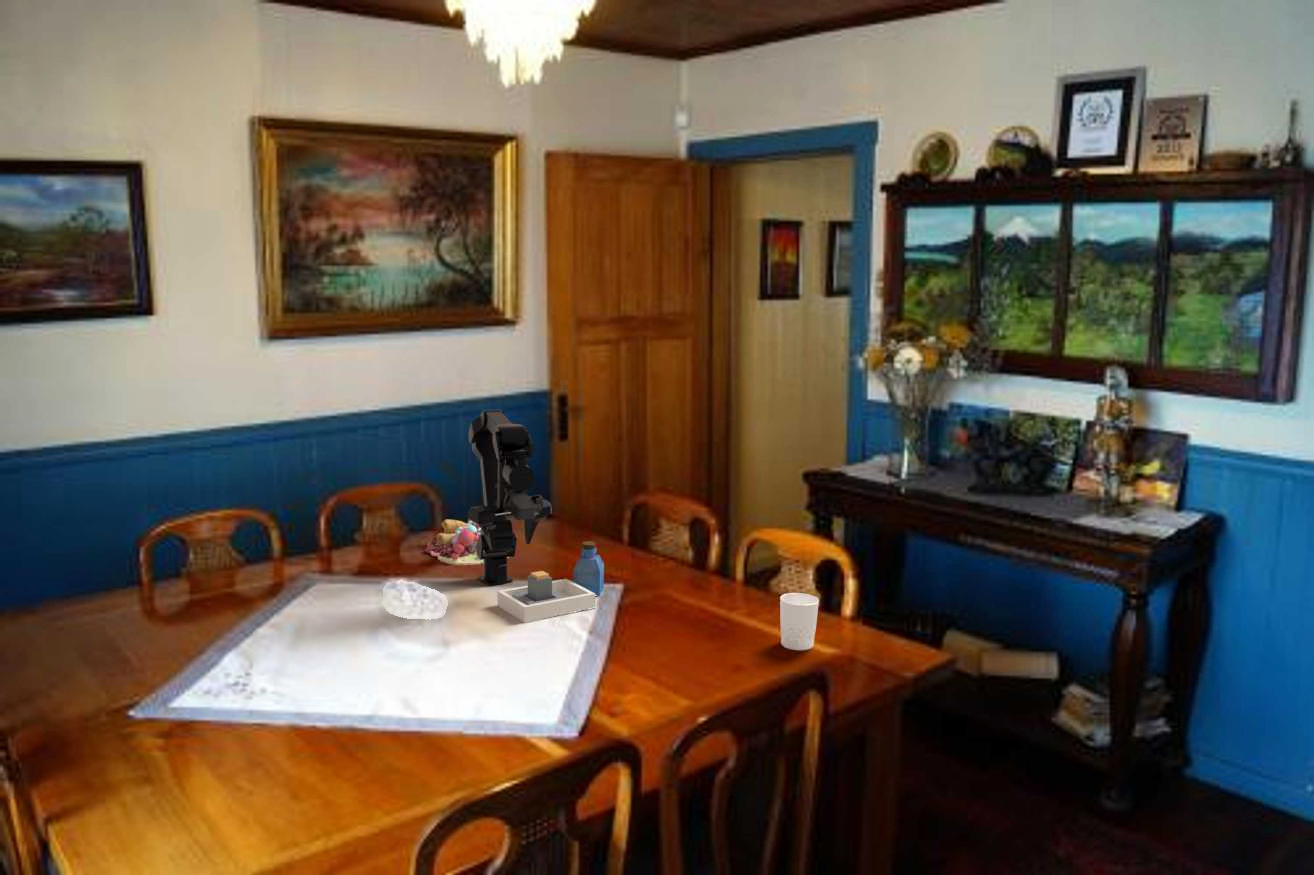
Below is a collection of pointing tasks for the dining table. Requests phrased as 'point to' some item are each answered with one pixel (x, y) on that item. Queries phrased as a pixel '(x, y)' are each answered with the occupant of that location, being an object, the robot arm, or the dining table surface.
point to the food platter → (456, 543)
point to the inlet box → (546, 601)
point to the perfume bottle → (590, 569)
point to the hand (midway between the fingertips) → (510, 546)
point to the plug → (539, 586)
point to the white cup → (798, 620)
